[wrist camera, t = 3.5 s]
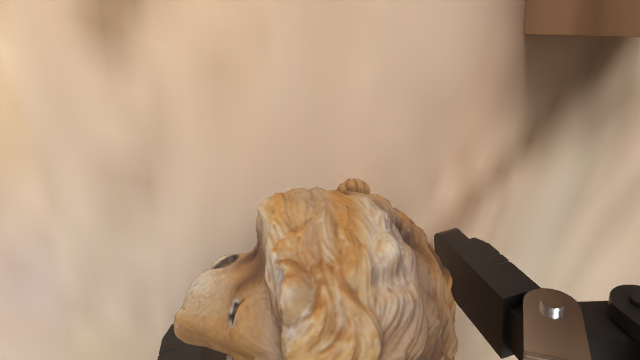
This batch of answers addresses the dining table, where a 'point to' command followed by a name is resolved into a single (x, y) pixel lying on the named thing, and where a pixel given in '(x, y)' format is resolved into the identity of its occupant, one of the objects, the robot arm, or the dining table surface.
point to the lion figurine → (326, 285)
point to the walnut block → (582, 17)
